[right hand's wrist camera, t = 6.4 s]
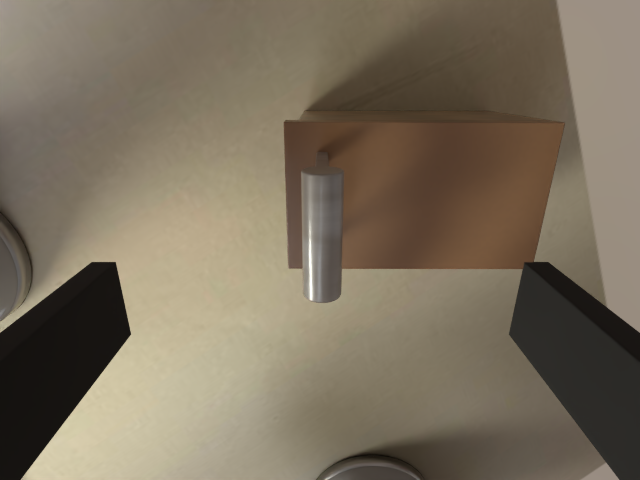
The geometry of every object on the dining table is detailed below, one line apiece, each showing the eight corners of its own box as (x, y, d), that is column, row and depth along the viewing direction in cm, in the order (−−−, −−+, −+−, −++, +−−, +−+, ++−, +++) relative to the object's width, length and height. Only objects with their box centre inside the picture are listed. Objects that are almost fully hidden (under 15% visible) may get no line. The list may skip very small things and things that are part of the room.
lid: (289, 261, 28) (277, 330, 20) (285, 120, 24) (268, 136, 16) (523, 261, 28) (604, 331, 20) (554, 120, 24) (666, 137, 16)
